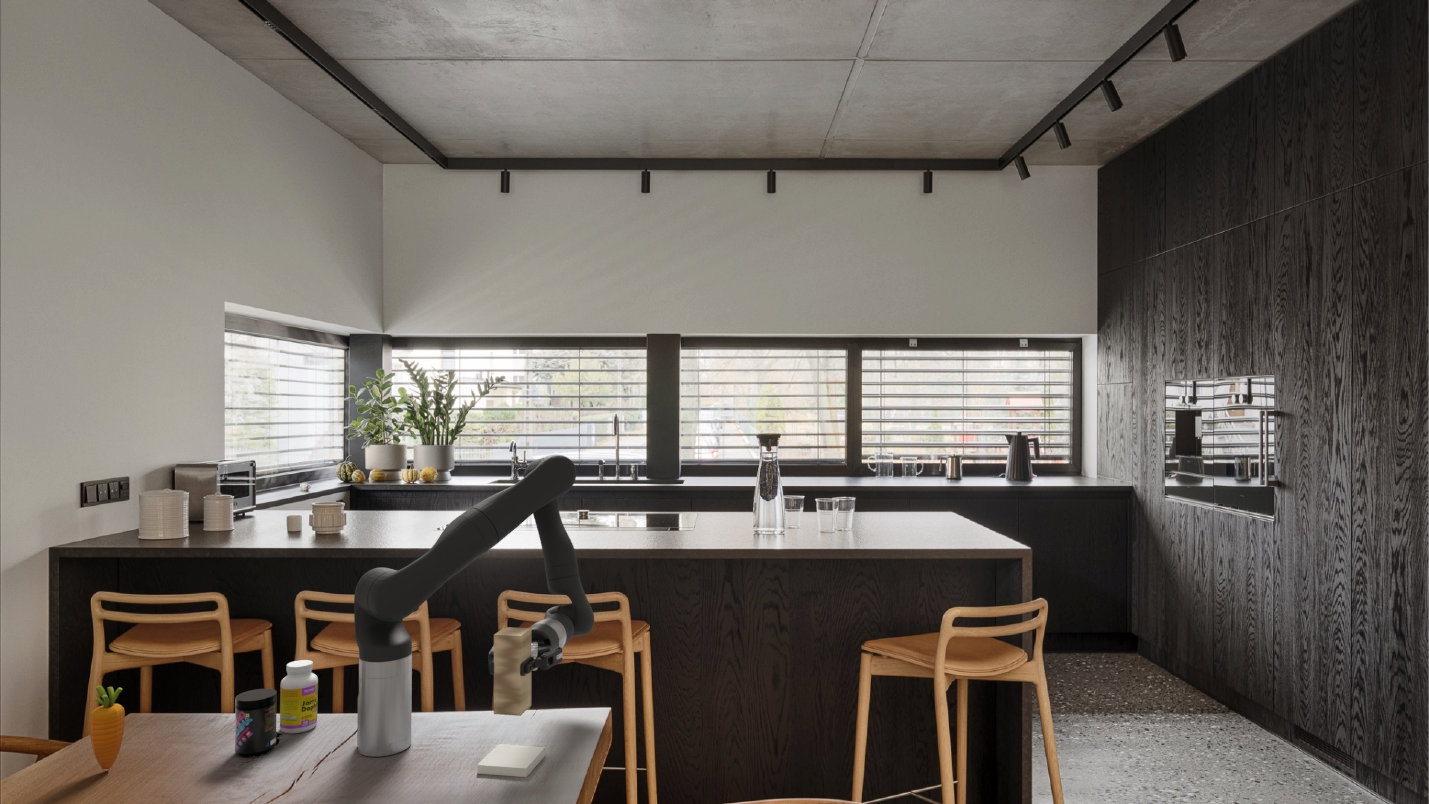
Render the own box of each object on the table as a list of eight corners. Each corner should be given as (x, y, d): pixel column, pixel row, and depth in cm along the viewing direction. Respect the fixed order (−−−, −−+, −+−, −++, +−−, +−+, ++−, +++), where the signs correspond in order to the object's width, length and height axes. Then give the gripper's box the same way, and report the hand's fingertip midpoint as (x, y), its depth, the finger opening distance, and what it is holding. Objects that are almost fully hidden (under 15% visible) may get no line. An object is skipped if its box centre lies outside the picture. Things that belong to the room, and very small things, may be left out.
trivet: (477, 773, 141) (477, 764, 141) (498, 752, 149) (498, 744, 150) (526, 777, 139) (526, 768, 139) (545, 755, 148) (545, 747, 148)
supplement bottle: (301, 736, 157) (302, 669, 157) (271, 733, 158) (272, 667, 158) (324, 723, 163) (325, 659, 163) (296, 720, 165) (296, 657, 165)
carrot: (131, 767, 143) (132, 682, 143) (101, 779, 138) (102, 691, 138) (111, 763, 144) (112, 679, 144) (81, 775, 140) (82, 688, 140)
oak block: (493, 714, 143) (493, 634, 143) (505, 703, 147) (505, 627, 148) (520, 715, 142) (520, 636, 142) (531, 705, 147) (531, 628, 147)
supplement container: (241, 745, 152) (242, 690, 152) (280, 742, 154) (281, 687, 154) (228, 760, 146) (229, 702, 146) (270, 757, 147) (270, 699, 147)
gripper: (507, 621, 160) (468, 646, 143) (577, 624, 158) (545, 650, 141) (507, 659, 160) (468, 688, 143) (576, 662, 158) (545, 693, 141)
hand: (507, 669), depth 142 cm, fingers closed on oak block, 5 cm apart
